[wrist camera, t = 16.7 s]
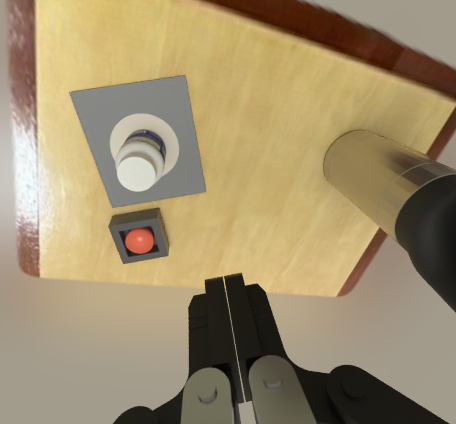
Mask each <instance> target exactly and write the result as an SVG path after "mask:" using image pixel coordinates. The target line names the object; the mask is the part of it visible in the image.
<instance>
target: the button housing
mask: <svg viewBox="0 0 456 424" xmlns="http://www.w3.org/2000/svg"><path fill="white" fill-rule="evenodd" d="M146 226H149V227H150V228H151V229H152V230H153V232H154V243H153V247H152V248H151V250H149V251H148V252H146V253H141V254H139V253H134V252H132V251H130V250H129V249H128V248H127V246H126V243H125V241H126V237H127V234H128V231H129V229H135V228H141V227H146ZM108 227H109V229H110V232H111V234H112V237H113V239H114V242H115V245H116V247H117V250H118V252H119V255H120V257H121V260H122V262H123V264H127V263H132V262H137V261H143V260H148V259H154V258H159V257H165V256H168V254H169V242H168V239H167V235H166V232H165V228H164V225H163V221H162V217H161V214H160V210H159V208H156V209H150V210H144V211H138V212H133V213H127V214H121V215H115V216H113V217H112V219H111V221H110V224H109V226H108Z"/></svg>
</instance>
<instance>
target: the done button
mask: <svg viewBox="0 0 456 424" xmlns="http://www.w3.org/2000/svg"><path fill="white" fill-rule="evenodd" d="M125 243H126V246H127V248H128V249H129V250H130V251H132V252H134V253H139V254H141V253H146V252H148V251H149V250H151V248H152V247H153V243H154V232H153V230H152V229H151V228H150V227H149V226H146V227H141V228H135V229H129V231H128V234H127V237H126V241H125Z"/></svg>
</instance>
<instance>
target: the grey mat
mask: <svg viewBox="0 0 456 424" xmlns="http://www.w3.org/2000/svg"><path fill="white" fill-rule="evenodd" d="M69 94H70V96H71V99H72V102H73V104H74V107H75V110H76V112H77V115H78V118H79V120H80V123H81V126H82V128H83V131H84V134H85V136H86V139H87V142H88V144H89V147H90V150H91V152H92V155H93V158H94V160H95V163H96V166H97V168H98V171H99V174H100V176H101V179H102V182H103V185H104V187H105V190H106V193H107V195H108V198H109V201H110V203H111V206H112V208H116V207H121V206H127V205H133V204H139V203H145V202H151V201H156V200H162V199H168V198H174V197H180V196H186V195H192V194H197V193H203V192H206V189H205V184H204V178H203V173H202V167H201V161H200V156H199V150H198V145H197V139H196V133H195V128H194V122H193V117H192V111H191V106H190V100H189V94H188V89H187V83H186V78H185V75H184V76H177V77H170V78H163V79H157V80H150V81H143V82H136V83H129V84H123V85H116V86H109V87H102V88H95V89H88V90H82V91H75V92H69ZM139 129H148V130H152V131H154V132H156V133H157V134H158V135H160V136H161V138H162V139H163V141H164V143H165V146H166V158H165V165H164V171H163V174H162V176H161V178H160V179H159V180H158V181H157V182H156V183H155V184H153V185H152V186H151V187H150V188H149V189H147V190H145V191H140V192H136V191H131V190H129V189H127V188H125V187H124V186H123V185H122V184H121V183H120V181H119V180H118V177H117V170H116V166H115V160H116V156H117V154H118V152H119V150H120V148H121V147H122V145H123V144H124V142H125V141H126V139H127V137H128V136H129V135H130V134H131V133H132V132H134V131H136V130H139Z"/></svg>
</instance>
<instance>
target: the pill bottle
mask: <svg viewBox="0 0 456 424" xmlns="http://www.w3.org/2000/svg"><path fill="white" fill-rule="evenodd" d="M165 158H166V146H165V143H164V141H163V139H162V138H161V136H160V135H158V134H157V133H156V132H154V131H152V130H148V129H139V130H136V131H134V132H132V133H131V134H130V135H129V136H128V137H127V139H126V141H125V142H124V144H123V145H122V147H121V148H120V150H119V152H118V154H117V156H116V160H115V166H116V170H117V177H118V180H119V181H120V183H121V184H122V185H123V186H124V187H125V188H127V189H129V190H131V191H136V192H140V191H145V190H147V189H149V188H150V187H151V186H152V185H153V184H155V183H156V182H157V181H158V180H159V179H160V178H161V176H162V174H163V171H164V165H165Z"/></svg>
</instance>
